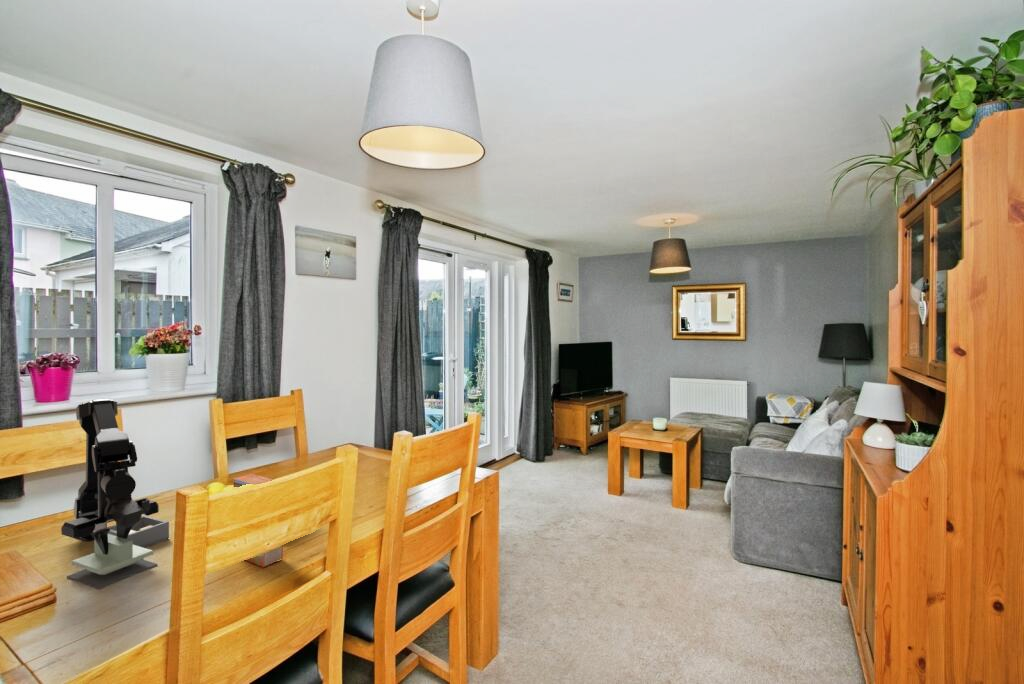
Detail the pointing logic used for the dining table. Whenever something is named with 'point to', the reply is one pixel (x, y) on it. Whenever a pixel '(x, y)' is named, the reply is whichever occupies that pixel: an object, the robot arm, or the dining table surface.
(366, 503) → the dining table surface
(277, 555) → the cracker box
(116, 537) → the lid
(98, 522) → the robot arm
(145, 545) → the storage box
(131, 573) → the mat
